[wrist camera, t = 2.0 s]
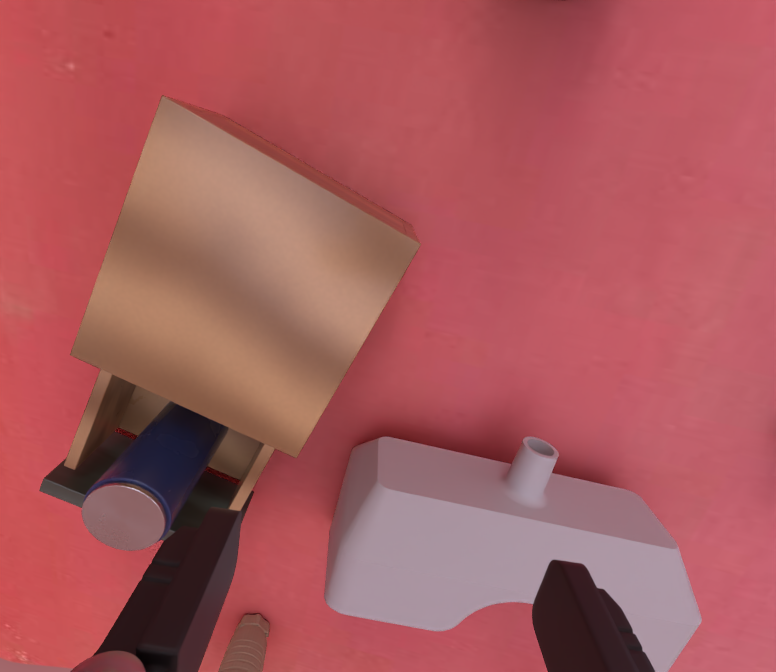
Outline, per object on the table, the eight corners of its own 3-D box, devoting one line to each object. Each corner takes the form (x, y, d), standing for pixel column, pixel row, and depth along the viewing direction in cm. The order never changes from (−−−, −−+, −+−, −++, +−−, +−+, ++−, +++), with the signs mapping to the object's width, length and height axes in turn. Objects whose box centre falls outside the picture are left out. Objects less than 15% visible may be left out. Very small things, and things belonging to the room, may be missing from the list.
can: (156, 429, 37) (66, 532, 26) (179, 380, 35) (93, 468, 25) (215, 455, 37) (150, 565, 27) (239, 408, 36) (181, 505, 26)
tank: (653, 436, 39) (767, 550, 28) (580, 574, 45) (650, 718, 33) (371, 370, 37) (365, 463, 25) (330, 523, 42) (309, 658, 31)
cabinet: (315, 395, 38) (296, 458, 30) (143, 311, 35) (69, 355, 27) (412, 225, 33) (421, 244, 25) (221, 114, 31) (161, 94, 22)
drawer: (227, 539, 42) (198, 607, 35) (80, 479, 39) (20, 540, 33) (323, 369, 36) (309, 412, 30) (157, 286, 34) (103, 314, 27)
